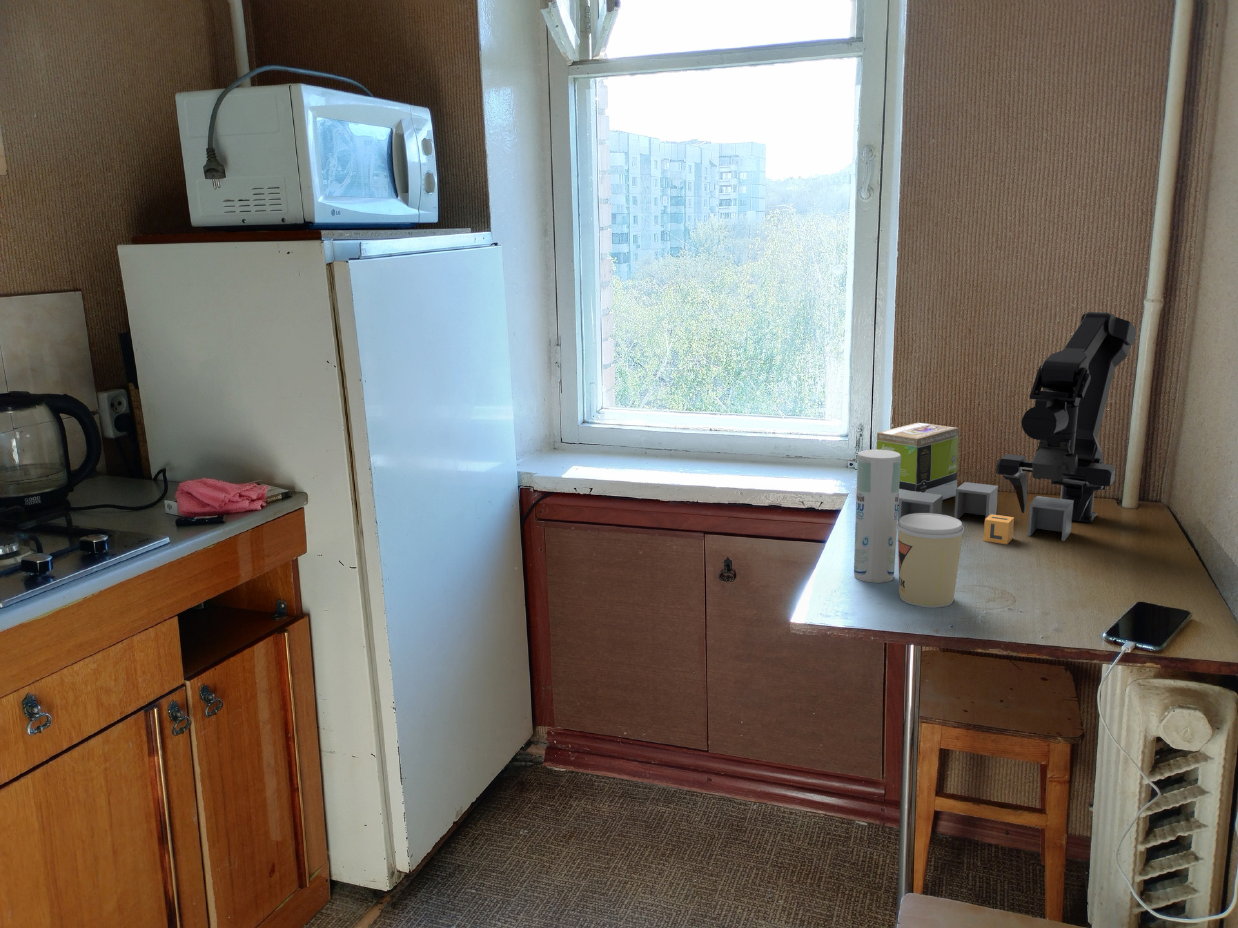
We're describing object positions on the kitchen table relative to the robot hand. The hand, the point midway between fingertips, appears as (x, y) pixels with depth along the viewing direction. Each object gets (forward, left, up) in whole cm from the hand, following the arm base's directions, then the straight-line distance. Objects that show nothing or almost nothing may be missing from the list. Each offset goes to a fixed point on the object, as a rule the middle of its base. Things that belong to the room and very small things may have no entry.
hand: (1050, 516), depth 174 cm
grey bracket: (0, 0, -3) cm, 3 cm away
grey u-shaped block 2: (+8, -21, -3) cm, 23 cm away
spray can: (+38, -19, -4) cm, 43 cm away
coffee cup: (+43, -9, -4) cm, 44 cm away
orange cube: (+8, -7, -4) cm, 11 cm away
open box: (-4, -14, -3) cm, 15 cm away
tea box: (-12, -28, -4) cm, 31 cm away
